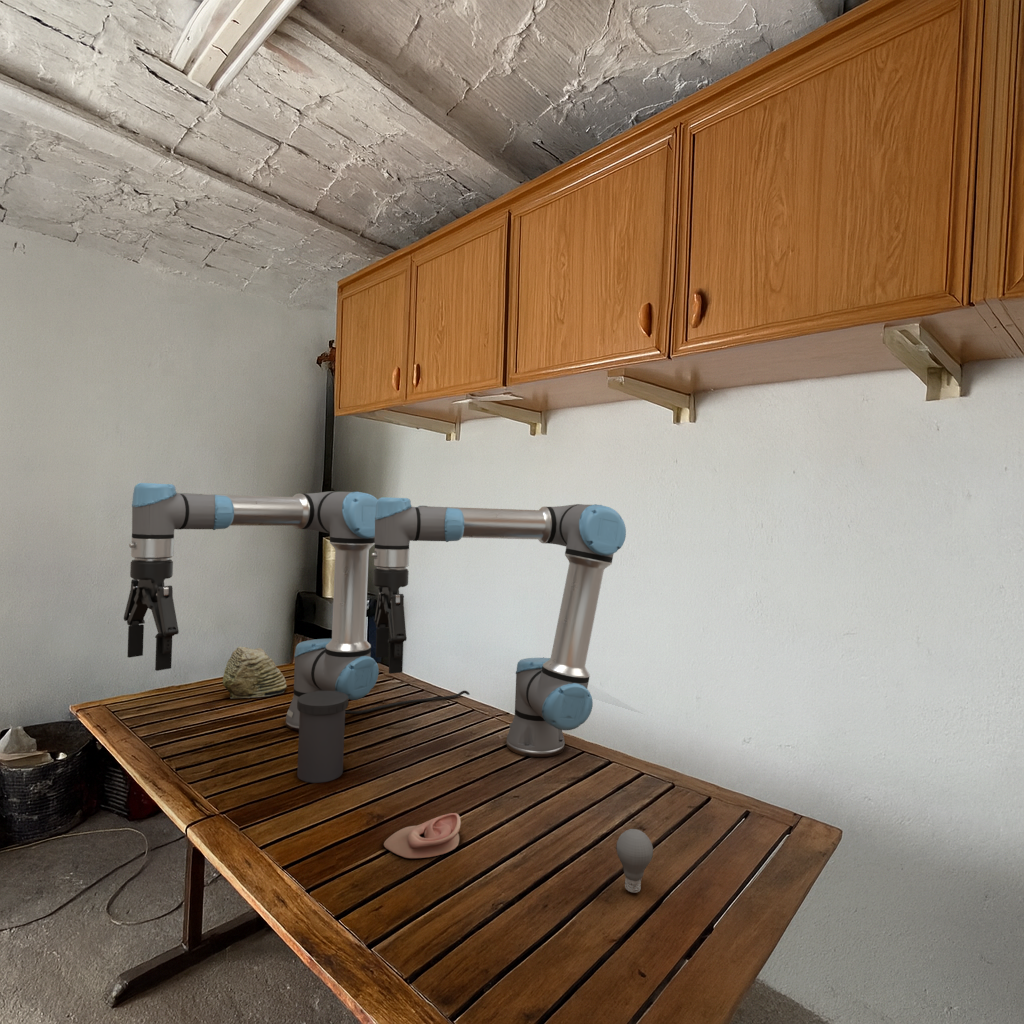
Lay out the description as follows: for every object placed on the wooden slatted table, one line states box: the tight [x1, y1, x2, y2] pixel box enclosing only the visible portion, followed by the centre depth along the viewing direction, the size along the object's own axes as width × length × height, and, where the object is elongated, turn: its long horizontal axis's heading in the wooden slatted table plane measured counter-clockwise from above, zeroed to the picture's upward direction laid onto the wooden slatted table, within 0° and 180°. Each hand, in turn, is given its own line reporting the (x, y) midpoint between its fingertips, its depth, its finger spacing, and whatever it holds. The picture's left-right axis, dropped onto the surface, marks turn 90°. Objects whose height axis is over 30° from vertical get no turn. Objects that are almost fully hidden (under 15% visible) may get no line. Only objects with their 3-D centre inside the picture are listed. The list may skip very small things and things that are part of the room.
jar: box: [296, 709, 346, 784], centre depth 145 cm, size 10×10×17 cm
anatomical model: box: [383, 812, 462, 859], centre depth 117 cm, size 13×4×12 cm
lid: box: [297, 691, 349, 715], centre depth 145 cm, size 11×11×2 cm
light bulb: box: [615, 828, 654, 894], centre depth 106 cm, size 6×6×10 cm
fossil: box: [222, 646, 288, 699], centre depth 198 cm, size 9×18×15 cm, turn 132°
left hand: (148, 662), depth 129 cm, fingers open, 13 cm apart
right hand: (388, 664), depth 139 cm, fingers open, 13 cm apart
